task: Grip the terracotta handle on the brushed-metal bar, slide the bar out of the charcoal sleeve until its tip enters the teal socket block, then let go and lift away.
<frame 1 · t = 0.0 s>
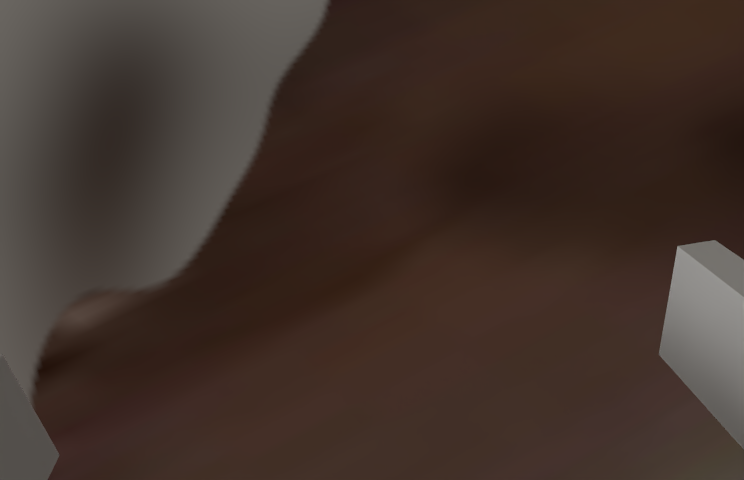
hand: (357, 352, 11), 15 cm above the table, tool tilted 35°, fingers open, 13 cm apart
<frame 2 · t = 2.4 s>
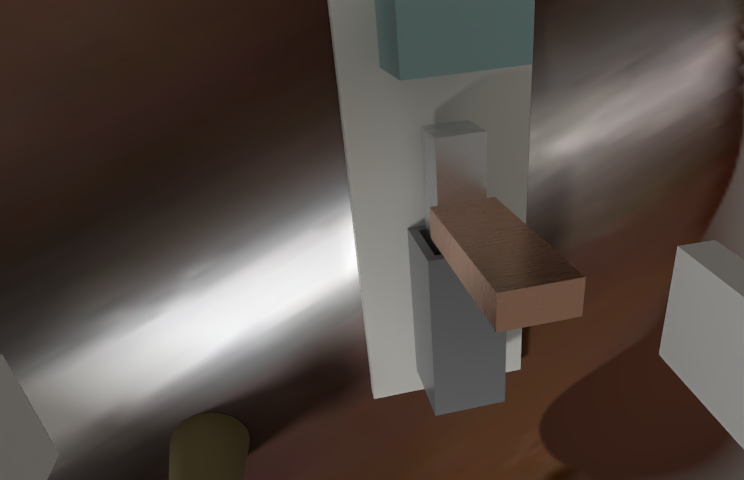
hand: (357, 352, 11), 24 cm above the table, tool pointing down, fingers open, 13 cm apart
inner bar: (484, 289, 30), point 9 cm above the table, slide at 0.0 cm
outer sleeve: (441, 290, 40), resting on base board
socket block: (431, 14, 32), resting on base board
cork: (210, 441, 42), on the table
base board: (437, 196, 37), on the table
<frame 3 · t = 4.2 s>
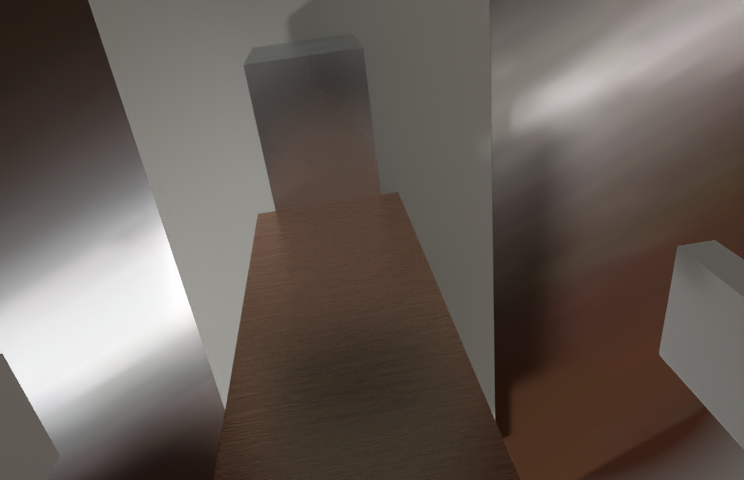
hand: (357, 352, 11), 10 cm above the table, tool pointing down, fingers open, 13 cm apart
inner bar: (358, 395, 14), point 9 cm above the table, slide at 0.0 cm
base board: (328, 186, 20), on the table
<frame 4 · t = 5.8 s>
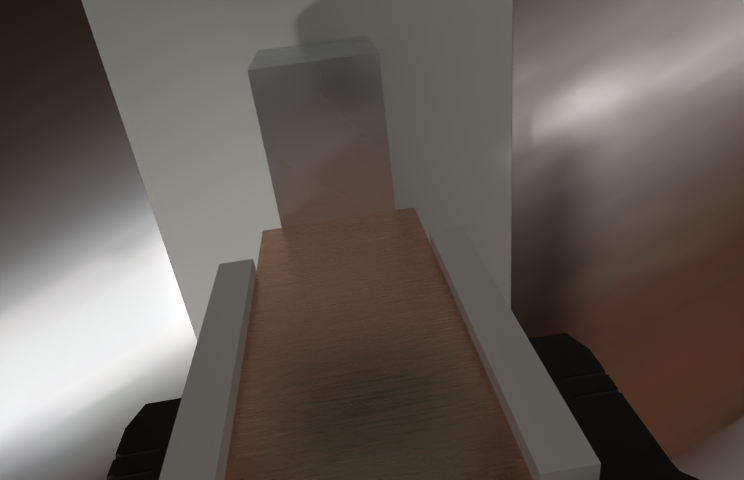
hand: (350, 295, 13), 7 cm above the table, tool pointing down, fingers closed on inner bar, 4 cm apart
inner bar: (371, 431, 13), point 9 cm above the table, slide at 0.0 cm, touching gripper
base board: (337, 196, 19), on the table
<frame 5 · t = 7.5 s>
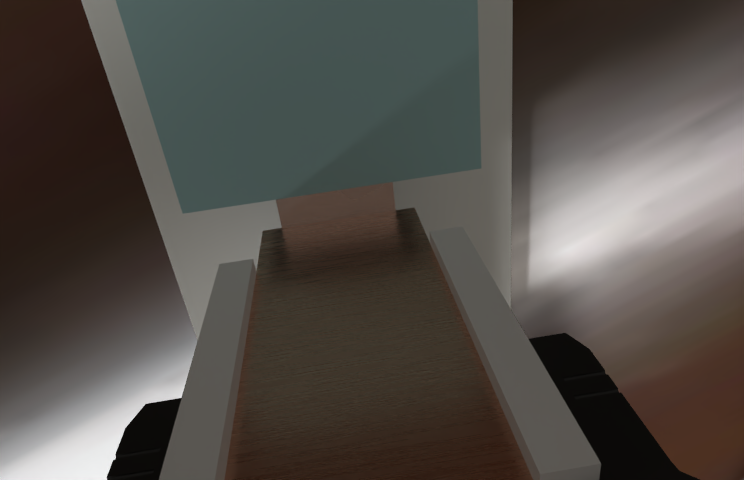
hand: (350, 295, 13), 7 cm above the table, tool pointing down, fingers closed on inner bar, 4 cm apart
inner bar: (371, 431, 13), point 8 cm above the table, slide at 6.2 cm, touching gripper
socket block: (312, 42, 17), resting on base board
base board: (359, 335, 22), on the table
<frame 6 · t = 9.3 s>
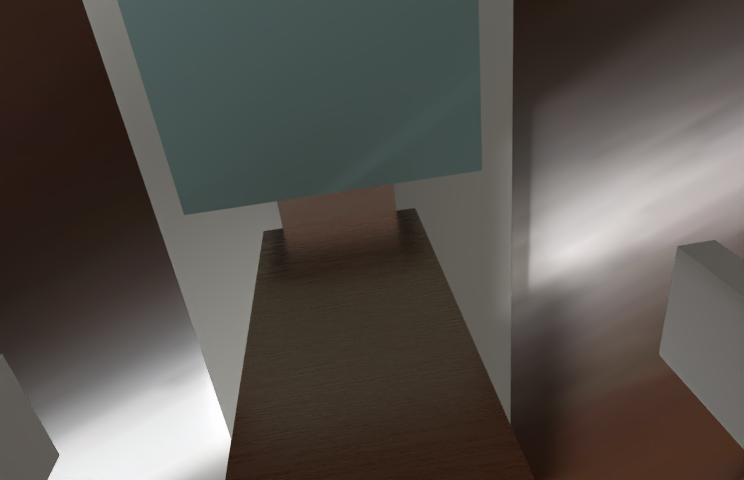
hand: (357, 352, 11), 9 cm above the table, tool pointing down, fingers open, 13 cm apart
inner bar: (372, 431, 13), point 9 cm above the table, slide at 6.3 cm
socket block: (313, 43, 17), resting on base board
base board: (360, 336, 22), on the table
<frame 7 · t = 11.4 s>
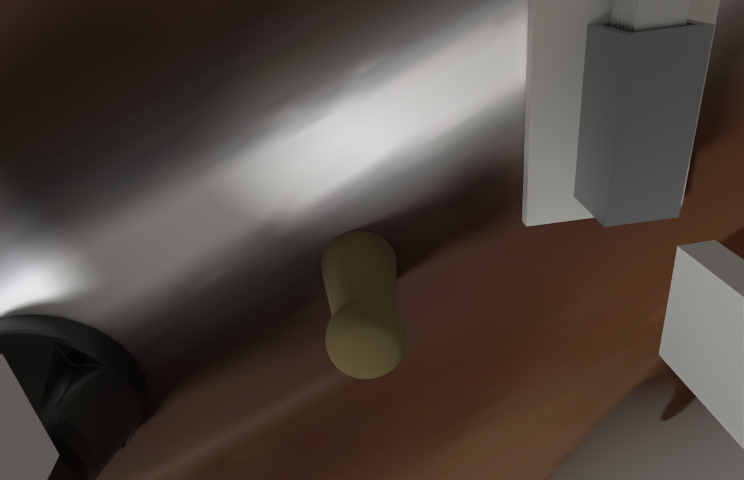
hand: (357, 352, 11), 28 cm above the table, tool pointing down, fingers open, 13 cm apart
outer sleeve: (609, 108, 38), resting on base board
cork: (358, 263, 43), on the table
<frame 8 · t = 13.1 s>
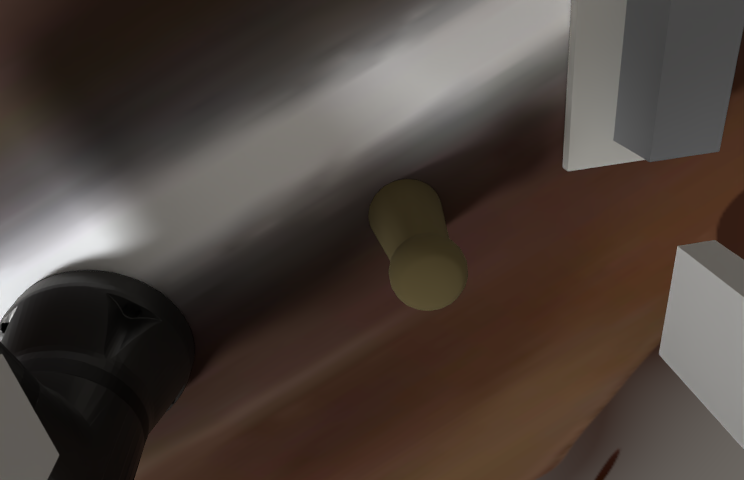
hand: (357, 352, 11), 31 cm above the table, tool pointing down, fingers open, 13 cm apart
outer sleeve: (646, 53, 40), resting on base board
cork: (404, 212, 44), on the table
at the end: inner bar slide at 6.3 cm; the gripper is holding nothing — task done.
